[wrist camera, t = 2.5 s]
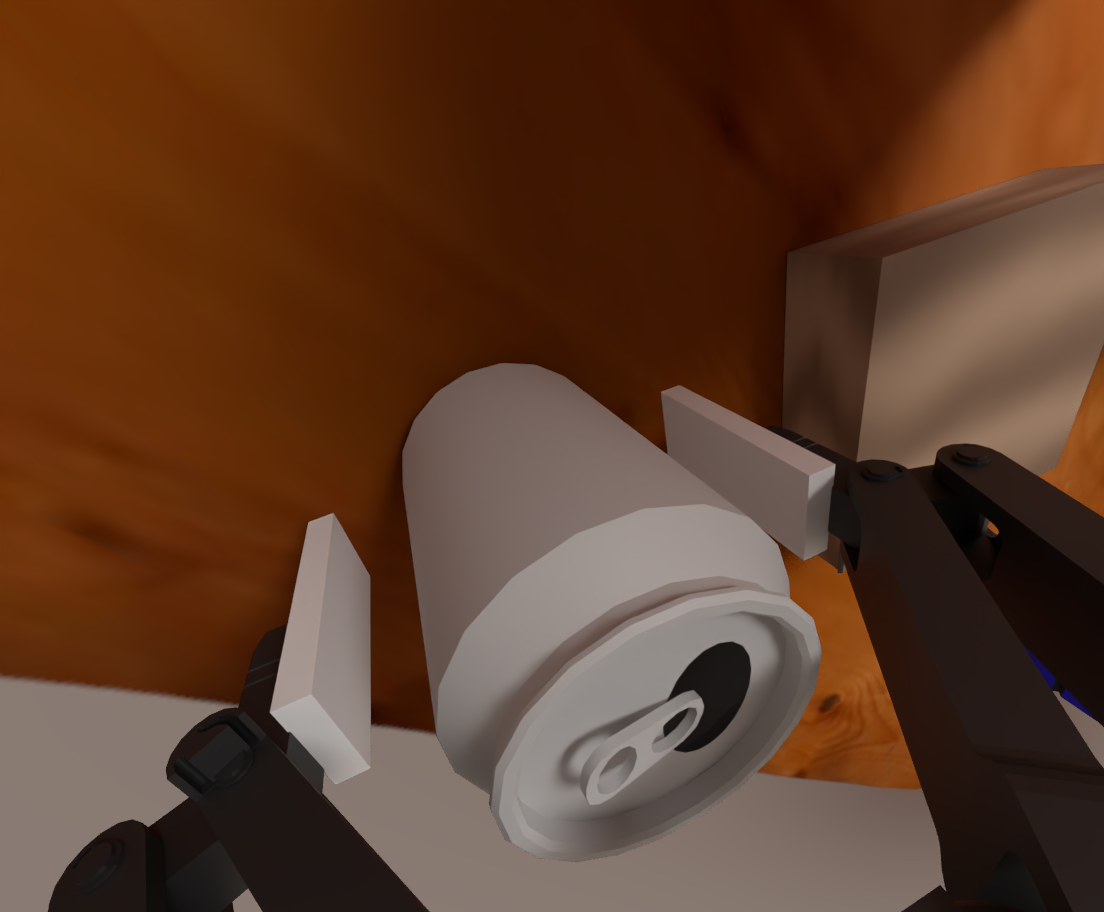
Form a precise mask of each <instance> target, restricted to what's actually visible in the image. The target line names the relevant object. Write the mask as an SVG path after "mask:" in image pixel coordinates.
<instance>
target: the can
mask: <svg viewBox="0 0 1104 912" xmlns="http://www.w3.org/2000/svg"><path fill="white" fill-rule="evenodd" d="M402 470H403V490H404V498H405V505H406V512H407V520H408V527H409V535H410V542H411V550H412V557H413V565H414V572H415V580H416V587H417V594H418V602H419V609H420V617H421V624H422V632H423V639H424V647H425V654H426V661H427V669H428V676H429V684H430V691H431V699H432V706H433V714H434V721H435V728H436V736H437V738H438V740H439V741H440V744H441V746H442V748H443V750H444V751H445V753H446V756H447V757H448V759H449V761H450V763H451V765H452V767H453V769H454V771H455V772H456V773H457V774H459V775H460V776H462V777H463V778H465V779H466V780H468V781H470V782H471V783H473V784H474V785H476V786H477V787H479V788H480V789H482V790H483V791H485V792H486V793H488V794H490V801H489V805H490V810H491V812H492V814H493V816H494V818H495V820H496V822H497V825H498V827H499V829H500V831H501V833H502V835H503V837H504V839H505V840H506V841H508V842H510V843H512V844H513V845H515V846H517V847H518V848H520V849H522V850H524V851H525V852H527V853H529V854H531V855H532V856H535V857H537V858H539V859H548V860H558V861H569V862H580V861H586V860H591V859H598V858H603V857H609V856H614V855H619V854H622V853H624V852H627V851H630V850H632V849H635V848H637V847H640V846H643V845H646V844H649V843H651V842H654V841H657V840H659V839H661V838H663V837H665V836H667V835H668V834H670V833H672V832H674V831H676V830H678V829H680V828H682V827H683V826H685V825H687V824H689V823H690V822H692V821H694V820H696V819H698V818H700V817H701V816H703V815H704V814H706V813H707V812H708V811H710V810H711V809H712V808H714V807H715V806H717V805H718V804H719V803H720V802H722V801H723V800H725V799H726V798H727V797H729V796H730V795H731V794H733V793H734V792H736V791H737V790H738V789H740V788H741V787H742V786H743V785H744V784H745V783H746V782H747V781H748V780H749V779H750V778H751V777H752V776H753V775H754V774H755V773H756V772H757V771H758V770H759V769H760V768H761V767H762V766H764V765H765V764H766V763H767V762H768V761H769V760H770V759H771V758H772V757H773V756H774V754H775V753H776V752H777V750H778V749H779V748H780V746H781V745H782V744H783V742H784V741H785V740H786V738H787V737H788V736H789V735H790V733H791V732H792V731H793V729H794V728H795V727H796V725H797V724H798V723H799V721H800V719H801V717H802V715H803V713H804V710H805V708H806V706H807V704H808V702H809V700H810V698H811V696H812V694H813V692H814V690H815V688H816V682H817V676H818V670H819V664H820V659H821V645H820V641H819V638H818V634H817V631H816V627H815V624H814V620H813V618H812V617H811V616H810V615H808V614H807V613H806V612H805V611H804V610H803V609H801V608H800V607H799V606H798V605H797V604H796V603H794V602H793V601H792V600H791V599H790V593H789V579H788V575H787V572H786V569H785V566H784V562H783V559H782V556H781V553H780V550H779V546H778V544H777V543H776V542H775V541H774V540H773V539H772V538H770V537H769V536H768V535H767V534H766V533H765V532H764V531H763V530H762V529H761V528H760V527H759V526H758V525H757V524H756V523H755V522H754V521H753V520H752V519H751V518H750V517H748V516H747V515H746V514H744V513H743V512H742V511H740V510H739V509H738V508H737V507H735V506H734V505H733V504H731V503H730V502H729V501H727V500H726V499H725V498H723V497H722V496H721V495H719V494H718V493H717V492H716V491H714V490H713V489H712V488H710V487H709V486H708V485H706V484H705V483H704V482H702V481H701V480H700V479H698V478H697V477H696V476H695V475H693V474H692V473H691V472H689V471H688V470H687V469H685V468H684V467H683V466H681V465H680V464H679V463H677V462H676V461H675V460H674V459H672V458H671V457H670V456H668V455H667V454H666V453H664V452H663V451H662V450H660V449H659V448H658V447H657V446H655V445H654V444H653V443H651V442H650V441H649V440H647V439H646V438H645V437H643V436H642V435H641V434H639V433H638V432H637V431H636V430H634V429H633V428H632V427H630V426H629V425H628V424H626V423H625V422H624V421H622V420H621V419H620V418H618V417H617V416H616V415H615V414H613V413H612V412H611V411H609V410H608V409H607V408H605V407H604V406H603V405H601V404H600V403H599V402H597V401H596V400H595V399H594V398H592V397H591V396H590V395H588V394H587V393H586V392H584V391H583V390H582V389H580V388H579V387H578V386H576V385H575V384H574V383H573V382H571V381H570V380H569V379H567V378H566V377H565V376H563V375H560V374H558V373H555V372H553V371H550V370H548V369H545V368H543V367H540V366H538V365H534V364H512V363H500V364H496V365H493V366H489V367H485V368H482V369H478V370H474V371H471V372H467V373H466V374H464V375H463V376H461V377H459V378H458V379H456V380H455V381H453V382H452V383H450V384H449V385H447V386H446V387H444V388H443V389H441V390H439V391H438V392H436V394H435V395H434V396H433V397H432V399H431V400H430V401H429V402H428V403H427V405H426V406H425V407H424V408H423V410H422V411H421V412H420V413H419V415H418V416H417V417H416V418H415V419H414V422H413V424H412V427H411V430H410V432H409V435H408V438H407V441H406V443H405V446H404V449H403V451H402Z"/></svg>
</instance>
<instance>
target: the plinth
mask: <svg viewBox="0 0 1104 912" xmlns="http://www.w3.org/2000/svg"><path fill="white" fill-rule="evenodd" d="M1103 344H1104V164H1095V165H1083V166H1071V167H1059V168H1048V169H1043V170H1039V171H1036V172H1033V173H1030V174H1027V175H1024V176H1021V177H1018V178H1015V179H1012V180H1009V181H1005V182H1002V183H999V184H996V185H993V186H990V187H987V188H984V189H981V190H978V191H975V192H972V193H968V194H965V195H962V196H959V197H956V198H953V199H950V200H947V201H944V202H941V203H938V204H934V205H931V206H928V207H925V208H922V209H919V210H916V211H913V212H910V213H907V214H904V215H901V216H897V217H894V218H891V219H888V220H885V221H882V222H879V223H876V224H873V225H870V226H867V227H864V228H860V229H857V230H854V231H851V232H848V233H845V234H842V235H839V236H836V237H833V238H830V239H826V240H823V241H820V242H817V243H814V244H811V245H808V246H805V247H802V248H799V249H796V250H793V251H789V252H787V280H786V312H785V344H784V375H783V407H782V428H784V429H788V430H791V431H793V432H795V433H797V434H799V435H802V436H804V438H805V439H806V438H808V439H810V440H812V441H814V442H816V444H820V445H822V446H824V447H826V448H829V449H831V450H833V451H835V452H837V453H839V454H841V455H843V456H845V457H847V458H849V459H851V460H853V461H856V462H860V461H864V460H871V459H876V460H887V461H891V462H895V463H898V464H900V465H902V466H904V467H906V468H907V469H911V468H917V467H922V466H928V465H934V463H935V458H936V454H937V451H938V450H939V449H940V448H942V447H944V446H947V445H951V444H962V443H969V444H978V445H981V446H985V447H989V448H992V449H994V450H996V451H998V452H1000V453H1002V454H1004V455H1005V456H1007V457H1008V458H1010V459H1011V460H1013V461H1015V462H1016V463H1018V464H1019V465H1021V466H1023V467H1024V468H1026V469H1027V470H1029V471H1030V472H1032V473H1034V474H1035V475H1037V476H1039V475H1041V474H1043V473H1045V472H1047V471H1049V470H1051V469H1053V468H1055V467H1056V466H1057V464H1058V461H1059V459H1060V456H1061V453H1062V451H1063V448H1064V446H1065V443H1066V440H1067V438H1068V435H1069V433H1070V430H1071V427H1072V425H1073V422H1074V420H1075V417H1076V414H1077V412H1078V409H1079V407H1080V404H1081V401H1082V399H1083V396H1084V394H1085V391H1086V388H1087V386H1088V383H1089V381H1090V378H1091V376H1092V373H1093V370H1094V368H1095V365H1096V363H1097V360H1098V357H1099V355H1100V352H1101V350H1102V347H1103ZM840 542H841V540H840V539H839V538H837V537H836V536H834V535H833V534H831V533H830V532H829V534H828V544H827V550H825V551H823V552H821V553H819V554H817V555H819V556H820V557H821V558H823V559H824V560H825V561H827V562H828V563H830V564H831V565H832V566H834V567H835V568H836V569H838V559H839V550H840ZM845 571H847V570H846V567H845V565H844V566H843V572H845Z"/></svg>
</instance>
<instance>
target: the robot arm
mask: <svg viewBox="0 0 1104 912" xmlns="http://www.w3.org/2000/svg"><path fill="white" fill-rule="evenodd" d="M661 398H662V407H663V416H664V425H665V434H666V443H667V452H668V456H670V457H671V458H672V459H674V460H675V461H676V462H677V463H679V464H680V465H681V466H683V467H684V468H685V469H687V470H688V471H689V472H691V473H692V474H693V475H695V476H696V477H697V478H698V479H700V480H701V481H702V482H704V483H705V484H706V485H708V486H709V487H710V488H712V489H713V490H714V491H716V492H717V493H718V494H719V495H721V496H722V497H723V498H725V499H726V500H727V501H729V502H730V503H731V504H733V505H734V506H735V507H737V508H738V509H739V510H740V511H742V512H743V513H744V514H746V515H747V516H748V517H750V518H751V519H752V520H753V521H754V522H755V523H756V524H757V525H758V526H759V527H760V528H761V529H763V530H764V531H765V532H767V533H768V534H769V535H771V536H772V537H773V538H775V539H776V540H777V541H778V542H780V543H781V544H782V545H784V546H785V547H786V548H788V549H789V550H790V551H791V552H793V553H794V554H795V555H797V556H798V557H799V558H801V559H802V560H803V561H804V560H807V559H809V558H811V557H813V556H815V555H817V554H819V553H821V552H823V551H825V550H827V544H828V534H829V532H830V533H831V534H833V535H834V536H836V537H837V538H839V539H840V540H841V542H840V550H839V559H838V573H843V566H844V565H845V567H846V570H847V573H848V576H849V579H850V582H851V585H852V587H853V590H854V593H855V596H856V599H857V602H858V605H859V608H860V611H861V613H862V616H863V619H864V622H865V625H866V628H867V631H868V634H869V637H870V640H871V642H872V645H873V648H874V651H875V654H876V657H877V660H878V663H879V666H880V668H881V671H882V674H883V677H884V680H885V683H886V686H887V689H888V692H889V695H890V697H891V700H892V703H893V706H894V709H895V712H896V715H897V718H898V721H899V723H900V726H901V729H902V732H903V735H904V738H905V741H906V744H907V747H908V750H909V752H910V755H911V758H912V761H913V764H914V767H915V770H916V773H917V776H918V778H919V781H920V784H921V787H922V790H923V793H924V796H925V798H926V802H927V804H928V807H929V810H930V813H931V816H932V819H933V822H934V825H935V828H936V831H937V835H938V838H939V843H940V851H941V866H942V873H943V879H944V883H945V888H946V891H945V890H944V889H943V888H942V887H941V885H940V886H938V887H937V888H935V889H934V890H933V891H931V892H930V893H928V894H927V895H925V896H924V897H922V898H921V899H919V900H918V901H916V902H915V903H914V904H912V905H911V906H909V907H908V908H906V909H905V910H904V911H902V912H1104V768H1103V767H1102V766H1101V764H1100V763H1099V762H1098V761H1097V759H1096V758H1095V756H1094V755H1093V753H1092V752H1091V750H1090V749H1089V747H1088V746H1087V744H1086V743H1085V741H1084V739H1083V738H1082V736H1081V735H1080V733H1079V732H1078V730H1077V729H1076V727H1075V725H1074V724H1073V722H1072V721H1071V719H1070V718H1069V716H1068V715H1067V713H1066V711H1065V710H1064V708H1063V707H1062V705H1061V704H1060V702H1059V701H1058V699H1057V697H1056V696H1055V695H1054V693H1053V691H1052V690H1051V688H1050V687H1049V685H1048V683H1047V682H1046V680H1045V679H1044V677H1043V676H1042V674H1041V673H1040V671H1039V669H1038V668H1037V666H1036V665H1035V663H1034V662H1033V660H1032V659H1031V657H1030V656H1029V654H1028V652H1027V651H1026V649H1027V650H1028V651H1029V652H1030V653H1031V654H1032V655H1033V656H1034V657H1035V658H1036V659H1037V660H1038V661H1039V662H1040V663H1041V664H1042V665H1043V666H1044V667H1045V668H1046V669H1047V670H1048V671H1049V672H1050V673H1051V674H1052V675H1053V676H1054V677H1055V678H1056V679H1057V680H1058V681H1059V682H1060V683H1061V684H1062V685H1063V686H1064V687H1065V688H1066V689H1067V690H1068V691H1069V692H1070V693H1071V694H1072V695H1073V697H1074V698H1075V699H1076V700H1077V701H1078V702H1079V703H1080V704H1081V705H1082V706H1083V707H1084V708H1085V709H1086V710H1087V711H1088V712H1089V713H1090V714H1091V715H1092V716H1093V717H1094V718H1095V719H1096V720H1097V721H1098V722H1099V723H1100V724H1101V725H1102V726H1103V727H1104V518H1103V517H1102V516H1100V515H1099V514H1097V513H1095V512H1094V511H1092V510H1091V509H1089V508H1088V507H1086V506H1084V505H1083V504H1081V503H1080V502H1078V501H1076V500H1075V499H1073V498H1072V497H1070V496H1069V495H1067V494H1065V493H1064V492H1062V491H1061V490H1059V489H1057V488H1056V487H1054V486H1053V485H1051V484H1050V483H1048V482H1046V481H1045V480H1043V479H1042V478H1040V477H1038V476H1037V475H1035V474H1034V473H1032V472H1030V471H1029V470H1027V469H1026V468H1024V467H1023V466H1021V465H1019V464H1018V463H1016V462H1015V461H1013V460H1011V459H1010V458H1008V457H1007V456H1005V455H1004V454H1002V453H1000V452H998V451H996V450H994V449H992V448H989V447H985V446H981V445H978V444H969V443H962V444H951V445H947V446H944V447H942V448H940V449H939V450H938V451H937V454H936V458H935V463H934V465H928V466H922V467H917V468H911V469H907V468H906V467H904V466H902V465H900V464H898V463H895V462H891V461H887V460H876V459H871V460H864V461H860V462H856V461H853V460H851V459H849V458H847V457H845V456H843V455H841V454H839V453H837V452H835V451H833V450H831V449H829V448H826V447H824V446H822V445H820V444H816V442H814V441H812V440H810V439H808V438H806V439H805V438H804V436H802V435H799V434H797V433H795V432H793V431H791V430H788V429H784V428H779V427H774V426H770V427H768V428H763V427H761V426H759V425H757V424H755V423H753V422H751V421H749V420H747V419H745V418H743V417H741V416H739V415H737V414H736V413H734V412H732V411H730V410H728V409H726V408H724V407H722V406H720V405H718V404H716V403H714V402H712V401H710V400H708V399H706V398H704V397H702V396H700V395H698V394H696V393H694V392H692V391H690V390H688V389H686V388H684V387H682V386H680V385H678V386H675V387H673V388H670V389H667V390H665V391H662V392H661ZM989 521H991V522H992V523H993V524H994V525H995V526H996V527H997V529H998V531H999V534H998V535H996V534H995V533H993V532H992V531H991V530H990V529H989V528H987V527H988V524H989ZM1024 647H1025V648H1026V649H1025V648H1024ZM244 686H245V689H243V693H242V696H241V700H240V704H239V707H238V708H227V709H223V710H221V711H218V712H216V713H214V714H211V715H209V716H208V717H207V718H205V719H204V720H203V721H201V722H200V723H198V724H197V725H195V726H194V727H193V728H192V729H191V730H190V731H189V732H188V733H187V734H186V735H185V736H184V737H183V738H182V739H181V741H180V742H179V744H178V745H177V746H176V748H175V749H174V751H173V752H172V754H171V756H170V758H169V761H168V764H167V767H166V774H167V779H168V780H169V781H170V782H171V783H172V784H174V785H175V786H176V787H177V788H179V789H180V790H181V791H182V792H184V793H185V794H186V795H187V796H189V798H188V799H186V800H185V801H184V802H182V803H181V804H180V805H178V806H177V807H176V808H174V809H173V810H172V811H170V812H169V813H168V814H166V815H165V816H163V817H162V818H161V819H159V820H158V821H156V822H155V823H154V824H152V825H151V826H149V827H147V826H146V825H144V824H143V823H141V822H138V821H135V820H128V821H124V822H121V823H118V824H116V825H114V826H112V827H111V828H109V829H107V830H106V831H104V832H102V833H101V834H100V835H98V836H97V837H96V838H95V839H94V840H92V841H91V842H90V843H89V844H88V845H87V846H85V847H84V848H83V849H82V851H81V852H80V853H79V854H78V855H77V856H76V857H75V858H74V860H73V861H72V862H71V863H70V864H69V866H68V867H67V868H66V870H65V871H64V873H63V875H62V876H61V878H60V879H59V881H58V882H57V884H56V886H55V888H54V891H53V894H52V897H51V900H50V903H49V909H48V912H234V910H233V903H232V902H233V901H234V900H235V899H236V898H237V897H238V896H240V895H241V894H242V893H243V892H244V891H245V890H247V889H248V888H249V890H250V891H251V893H252V895H253V897H254V898H255V900H256V902H257V903H258V905H259V906H260V908H261V910H262V911H263V912H429V911H428V909H426V907H425V906H424V905H423V904H422V903H421V902H420V901H419V900H418V898H417V897H416V896H415V895H414V894H413V893H412V892H411V891H410V890H409V888H408V887H407V886H406V885H405V884H404V883H403V882H402V881H401V880H400V879H399V877H398V876H397V875H396V874H395V873H394V872H393V871H392V870H391V869H390V867H389V866H388V865H387V864H386V863H385V862H384V861H383V860H382V858H381V857H380V856H379V855H378V854H377V853H376V852H375V851H374V850H373V848H372V847H371V846H370V845H369V844H368V843H367V842H366V841H365V840H364V838H363V837H362V836H361V835H360V834H359V833H358V832H357V831H356V830H355V829H354V827H353V826H352V825H351V824H350V823H349V822H348V821H347V820H346V819H345V818H344V816H343V815H342V814H341V813H340V812H339V811H338V810H337V809H336V807H335V806H334V805H333V804H332V803H331V802H330V801H329V800H328V799H327V798H326V797H325V796H324V794H322V789H323V777H324V773H325V774H326V775H327V776H328V777H329V778H330V779H331V780H332V781H333V782H334V784H335V785H337V784H339V783H341V782H343V781H345V780H348V779H350V778H351V777H354V776H356V775H358V774H360V773H362V772H364V771H366V770H368V769H371V651H370V575H369V573H368V572H367V570H366V568H365V566H364V565H363V563H362V561H361V559H360V558H359V556H358V554H357V553H356V551H355V549H354V547H353V546H352V544H351V542H350V540H349V539H348V537H347V535H346V533H345V532H344V530H343V528H342V526H341V525H340V523H339V521H338V519H337V518H336V516H335V514H334V513H332V514H329V515H326V516H324V517H321V518H318V519H315V520H313V521H310V522H308V527H307V532H306V537H305V542H304V547H303V552H302V556H301V561H300V566H299V571H298V576H297V581H296V586H295V591H294V596H293V601H292V606H291V610H290V615H289V620H288V624H286V625H284V626H281V627H279V628H276V629H274V630H272V631H269V632H267V633H266V634H265V635H264V637H263V638H262V640H261V641H260V643H259V644H258V646H257V647H256V649H255V650H254V652H253V656H252V659H251V663H250V667H249V674H247V678H246V681H245V685H244Z"/></svg>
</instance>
